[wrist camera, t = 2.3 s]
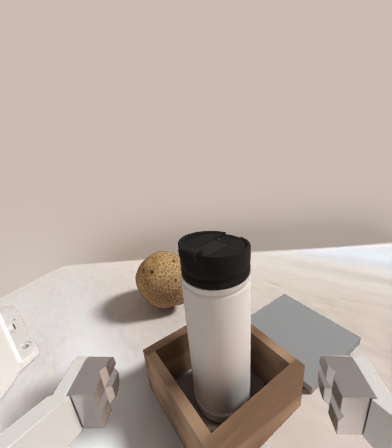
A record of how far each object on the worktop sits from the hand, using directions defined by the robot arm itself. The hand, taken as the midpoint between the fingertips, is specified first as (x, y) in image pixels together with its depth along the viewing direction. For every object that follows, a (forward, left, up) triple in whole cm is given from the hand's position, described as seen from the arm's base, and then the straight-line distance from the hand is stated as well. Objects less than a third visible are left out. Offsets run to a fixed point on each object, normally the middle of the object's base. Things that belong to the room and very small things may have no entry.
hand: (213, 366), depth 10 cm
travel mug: (-10, +8, -20) cm, 24 cm away
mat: (-10, +21, -20) cm, 31 cm away
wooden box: (-10, +8, -20) cm, 24 cm away
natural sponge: (-28, +11, -20) cm, 36 cm away
